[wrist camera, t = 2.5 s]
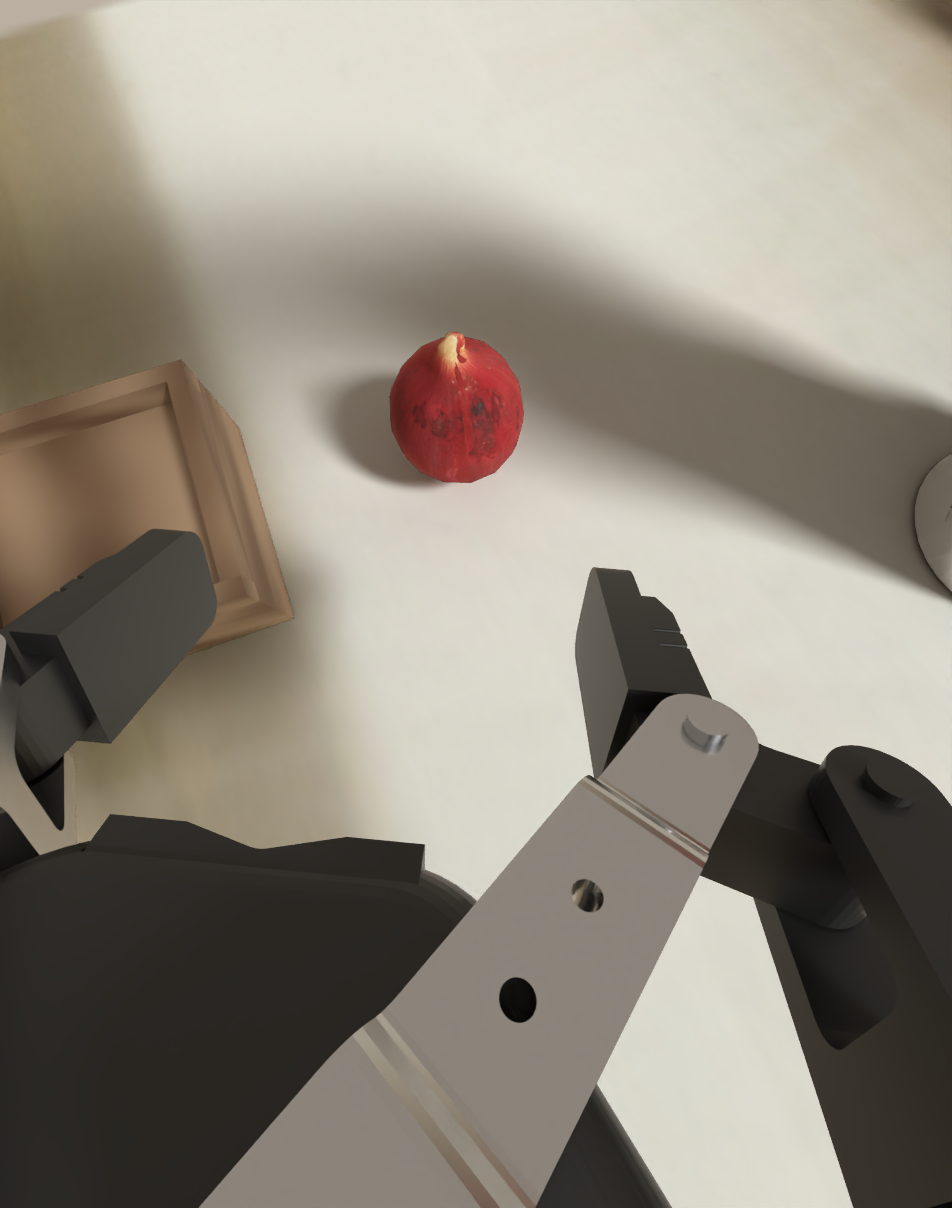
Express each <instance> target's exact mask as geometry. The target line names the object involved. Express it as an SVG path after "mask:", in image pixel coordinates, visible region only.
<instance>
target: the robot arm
mask: <svg viewBox="0 0 952 1208" xmlns="http://www.w3.org/2000/svg"><path fill="white" fill-rule="evenodd" d="M915 527H916V532H917V537H918V542H919V544H920V547H921V549H922V551H923V554H924V556H925V558H926V560H927V562H928V564H929V565H930V567H931V568H932V570H933V571H934V572H935V574H936V575H937V577H938V578H939V579H940V580H941V581H942V582H943V584H944V585H945V586H946V587H947V588H948V589H949V590H950V591H951V592H952V454H950V455H949V456H947V457H946V458H944V459H943V460H941V461H939V462H938V463H937V464H936V466H935V467H934V468H933V469H932V470H931V471H930V472H929V473H928V474H927V476H926V478H925V479H924V481H923V483H922V485H921V487H920V488H919V492H918V496H917V500H916V504H915ZM216 611H217V598H216V593H215V589H214V586H213V582H212V578H211V574H210V570H209V567H208V563H207V559H206V555H205V551H204V548H203V544H202V541H201V539H200V538H199V536H198V535H197V534H196V533H194V532H191V531H179V530H168V529H151V530H149V531H147V532H146V533H145V534H143V535H142V536H140V537H139V538H138V539H136V540H135V541H133V542H132V543H131V544H129V545H128V546H126V547H125V548H124V549H122V550H121V551H119V552H118V553H117V554H114V555H112V556H109V557H107V558H105V559H102V560H100V561H98V562H96V563H95V564H93V565H92V566H90V567H89V568H88V569H86V570H85V571H83V572H82V573H80V574H79V575H78V576H77V579H72V580H70V581H69V582H68V583H66V584H65V585H63V586H62V587H61V588H60V591H55V592H53V593H52V594H51V595H49V596H48V597H46V598H45V599H43V600H42V601H41V602H39V603H38V604H36V605H35V606H33V607H32V608H31V609H29V610H28V611H26V612H25V613H24V614H22V615H21V616H19V617H18V618H16V619H15V620H14V621H12V622H11V623H9V624H8V625H6V626H5V627H4V628H2V629H1V630H0V1208H672V1207H671V1205H670V1204H669V1202H668V1200H667V1199H666V1197H665V1195H664V1194H663V1192H662V1190H661V1189H660V1187H659V1186H658V1184H657V1182H656V1181H655V1179H654V1177H653V1176H652V1174H651V1172H650V1171H649V1169H648V1167H647V1166H646V1164H645V1163H644V1161H643V1159H642V1158H641V1156H640V1154H639V1153H638V1151H637V1149H636V1148H635V1146H634V1144H633V1143H632V1141H631V1139H630V1138H629V1136H628V1135H627V1133H626V1131H625V1130H624V1128H623V1126H622V1125H621V1123H620V1121H619V1120H618V1118H617V1116H616V1115H615V1113H614V1112H613V1110H612V1108H611V1107H610V1105H609V1103H608V1102H607V1100H606V1098H605V1097H604V1095H603V1093H602V1092H601V1090H600V1089H599V1087H598V1085H597V1081H598V1079H599V1077H600V1075H601V1073H602V1071H603V1069H604V1067H605V1065H606V1063H607V1061H608V1059H609V1057H610V1055H611V1053H612V1051H613V1049H614V1047H615V1045H616V1043H617V1041H618V1039H619V1037H620V1035H621V1033H622V1031H623V1029H624V1027H625V1025H626V1023H627V1021H628V1019H629V1017H630V1015H631V1013H632V1011H633V1009H634V1007H635V1005H636V1003H637V1001H638V999H639V997H640V995H641V993H642V991H643V989H644V987H645V985H646V983H647V981H648V979H649V977H650V975H651V973H652V970H653V968H654V966H655V964H656V962H657V960H658V958H659V956H660V954H661V952H662V950H663V948H664V946H665V944H666V942H667V940H668V938H669V936H670V934H671V932H672V930H673V928H674V926H675V924H676V922H677V920H678V918H679V916H680V914H681V912H682V910H683V908H684V906H685V904H686V902H687V900H688V898H689V896H690V894H691V892H692V890H693V888H694V886H695V884H696V882H697V880H698V878H699V876H703V877H705V878H708V879H710V880H713V881H715V882H717V883H720V884H722V885H725V886H727V887H730V888H732V889H734V890H737V891H739V892H742V893H744V894H746V895H749V896H751V897H753V898H754V901H755V904H756V908H757V911H758V914H759V917H760V920H761V923H762V926H763V929H764V932H765V935H766V938H767V942H768V945H769V948H770V951H771V954H772V957H773V960H774V963H775V966H776V969H777V973H778V976H779V979H780V982H781V985H782V988H783V991H784V994H785V997H786V1000H787V1004H788V1007H789V1010H790V1013H791V1016H792V1019H793V1022H794V1025H795V1028H796V1031H797V1034H798V1038H799V1041H800V1044H801V1047H802V1050H803V1053H804V1056H805V1059H806V1062H807V1065H808V1069H809V1072H810V1075H811V1078H812V1081H813V1084H814V1087H815V1090H816V1093H817V1096H818V1099H819V1103H820V1106H821V1109H822V1112H823V1115H824V1118H825V1121H826V1124H827V1127H828V1130H829V1134H830V1137H831V1140H832V1143H833V1146H834V1149H835V1152H836V1155H837V1158H838V1161H839V1165H840V1168H841V1171H842V1174H843V1177H844V1180H845V1183H846V1186H847V1189H848V1192H849V1195H850V1199H851V1202H852V1205H853V1208H952V806H951V805H950V803H949V802H948V801H947V799H946V798H945V797H944V796H943V794H942V793H941V792H940V791H939V790H938V788H937V787H936V786H935V785H934V784H932V783H931V782H930V781H929V780H928V779H927V778H926V777H925V776H923V775H922V774H921V773H920V772H918V771H917V770H915V769H914V768H912V767H911V766H909V765H908V764H906V763H904V762H902V761H901V760H899V759H897V758H895V757H893V756H891V755H889V754H886V753H883V752H881V751H878V750H875V749H871V748H868V747H862V746H854V745H848V746H841V747H837V748H835V749H833V750H831V752H830V753H829V754H828V755H827V756H826V758H825V759H824V761H823V762H822V764H821V765H819V764H816V763H813V762H810V761H807V760H804V759H801V758H798V757H795V756H792V755H788V754H785V753H782V752H779V751H776V750H773V749H771V748H768V747H765V746H763V745H761V744H759V743H758V740H757V737H756V735H755V733H754V731H753V729H752V728H751V726H750V725H749V724H748V723H747V722H746V720H745V719H744V718H743V717H741V716H740V715H739V714H738V713H737V712H735V711H734V710H732V709H731V708H729V707H728V706H726V705H724V704H722V703H720V702H718V701H716V700H713V699H712V698H711V695H710V693H709V691H708V689H707V687H706V685H705V682H704V680H703V678H702V676H701V674H700V672H699V669H698V667H697V665H696V663H695V661H694V658H693V656H692V654H691V652H690V650H689V649H687V643H686V641H685V639H684V637H683V635H682V634H680V631H681V630H680V628H679V626H678V624H677V622H676V619H675V617H674V615H673V613H672V612H671V611H670V610H669V609H668V608H666V607H665V606H664V605H663V604H662V603H661V602H660V601H659V600H658V599H657V598H655V597H647V596H641V594H640V592H639V589H638V587H637V584H636V581H635V579H634V576H633V574H632V572H631V571H629V570H618V569H607V568H595V567H594V568H592V570H591V572H590V574H589V578H588V582H587V587H586V591H585V596H584V601H583V605H582V610H581V614H580V619H579V624H578V628H577V634H576V643H575V658H576V665H577V672H578V678H579V684H580V691H581V697H582V703H583V710H584V716H585V723H586V729H587V735H588V742H589V748H590V754H591V761H592V767H593V773H594V778H593V777H592V776H590V775H588V776H585V777H584V778H583V779H581V780H580V781H579V782H578V783H577V784H576V786H575V787H574V788H573V789H572V790H571V791H570V792H569V794H568V795H567V796H566V797H565V798H564V800H563V801H562V802H561V803H560V804H559V805H558V807H557V808H556V809H555V810H554V811H553V813H552V814H551V815H550V816H549V817H548V818H547V820H546V821H545V822H544V823H543V824H542V826H541V827H540V828H539V829H538V830H537V831H536V833H535V834H534V835H533V836H532V837H531V839H530V840H529V841H528V842H527V843H526V844H525V846H524V847H523V848H522V849H521V850H520V852H519V853H518V854H517V855H516V856H515V857H514V859H513V860H512V861H511V862H510V863H509V865H508V866H507V867H506V868H505V869H504V870H503V872H502V873H501V874H500V875H499V876H498V878H497V879H496V880H495V881H494V882H493V883H492V885H491V886H490V887H489V888H488V889H487V891H486V892H485V893H484V894H483V895H482V896H481V898H480V899H479V900H478V901H476V900H475V899H474V898H473V897H472V896H471V895H469V894H468V893H467V892H465V891H464V890H462V889H461V888H460V887H458V886H457V885H456V884H454V883H452V882H450V881H448V880H447V879H445V878H443V877H441V876H439V875H437V874H435V873H432V872H430V871H427V870H425V844H414V843H404V842H393V841H383V840H373V839H362V838H352V837H344V838H337V839H330V840H323V841H316V842H309V843H302V844H295V845H289V846H282V847H275V848H268V849H256V848H252V847H249V846H247V845H244V844H242V843H239V842H237V841H234V840H232V839H229V838H227V837H224V836H222V835H219V834H217V833H214V832H212V831H209V830H207V829H204V828H202V827H199V826H197V825H194V824H192V823H189V822H186V821H176V820H165V819H155V818H145V817H134V816H124V815H114V814H110V815H109V817H108V818H107V819H106V821H105V822H104V823H103V825H102V826H101V828H100V829H99V830H98V832H97V833H96V834H95V836H94V837H93V838H92V840H91V841H87V842H83V843H79V844H77V816H76V781H75V762H74V759H73V757H72V755H71V754H70V752H69V750H68V749H69V748H70V747H71V746H72V745H73V744H74V743H75V742H76V741H88V742H99V743H109V744H111V743H112V741H113V740H114V739H115V738H116V737H117V736H118V734H119V733H120V732H121V731H122V730H123V729H124V727H125V726H126V725H127V724H128V723H129V721H130V720H131V719H132V718H133V717H134V716H135V714H136V713H137V712H138V711H139V710H140V708H141V707H142V706H143V705H144V704H145V703H146V701H147V700H148V699H149V698H150V697H151V696H152V694H153V693H154V692H155V691H156V690H157V688H158V687H159V686H160V685H161V684H162V683H163V681H164V680H165V679H166V678H167V677H168V676H169V674H170V673H171V672H172V671H173V670H174V668H175V667H176V666H177V665H178V664H179V663H180V661H181V660H182V659H183V658H184V657H185V656H186V654H187V653H188V652H189V651H190V650H191V648H192V647H193V646H194V645H195V644H196V643H197V641H198V640H199V639H200V638H201V637H202V636H203V634H204V633H205V632H206V631H207V630H208V628H209V627H210V626H211V625H212V623H213V621H214V618H215V615H216Z"/></svg>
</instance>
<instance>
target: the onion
mask: <svg viewBox="0 0 952 1208" xmlns="http://www.w3.org/2000/svg"><path fill="white" fill-rule="evenodd" d="M523 413H524V412H523V405H522V397H521V390H520V386H519V382H518V380H517V378H516V377H515V375H514V373H513V372H512V370H511V369H510V367H509V365H508V364H507V362H506V361H505V359H504V358H503V357H502V356H501V355H500V354H499V353H498V352H496V351H495V350H494V349H492V348H491V347H490V346H489V345H487V344H486V343H485V342H483V341H480V340H476V339H472V338H468V337H464V335H463V334H461V333H458V332H450V333H447V334H446V336H445V337H444V338H440V339H438V340H435V341H433V342H430V343H428V344H426V345H423V346H421V347H420V348H419V349H418V350H417V351H416V352H415V353H414V354H413V355H412V356H411V357H410V358H409V359H408V360H407V361H406V362H405V363H404V365H403V366H402V367H401V369H400V371H399V374H398V376H397V378H396V380H395V382H394V385H393V387H392V389H391V394H390V420H391V428H392V432H393V434H394V436H395V438H396V440H397V442H398V444H399V446H400V448H401V450H402V452H403V453H404V455H405V457H406V458H407V459H408V460H409V461H410V462H411V463H412V464H413V465H414V466H415V467H416V468H417V469H418V470H419V471H420V472H421V473H424V474H426V475H429V476H431V477H433V478H436V479H438V480H441V481H443V482H459V483H472V482H474V481H476V480H479V479H481V478H483V477H486V476H488V475H491V474H493V473H495V472H496V471H497V470H498V469H499V468H500V467H501V465H502V464H503V463H504V462H505V461H506V460H507V459H508V458H509V456H510V455H511V454H512V452H513V451H514V449H515V447H516V445H517V441H518V438H519V434H520V431H521V427H522V423H523Z"/></svg>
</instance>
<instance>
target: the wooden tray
mask: <svg viewBox="0 0 952 1208" xmlns="http://www.w3.org/2000/svg"><path fill="white" fill-rule="evenodd" d="M151 529H168V530H179V531H191V532H194V533H196V534H197V535H198V536H199V538H200V539H201V541H202V544H203V548H204V551H205V555H206V559H207V563H208V567H209V570H210V574H211V578H212V582H213V586H214V589H215V593H216V598H217V611H216V615H215V618H214V621H213V623H212V625H211V626H210V627H209V628H208V630H207V631H206V632H205V633H204V634H203V636H202V637H201V638H200V639H199V640H198V641H197V643H196V644H195V645H194V646H193V647H192V648H191V650H190V651H189V652H188V653H187V654H186V655H189V654H192V653H195V652H198V651H201V650H203V649H206V648H209V647H212V646H215V645H218V644H221V643H224V642H227V641H230V640H232V639H235V638H238V637H241V636H244V635H247V634H250V633H253V632H256V631H258V630H261V629H264V628H267V627H270V626H273V625H276V624H279V623H282V622H285V621H287V620H290V619H293V618H295V617H294V614H293V611H292V607H291V604H290V600H289V597H288V593H287V590H286V587H285V583H284V580H283V576H282V573H281V570H280V566H279V563H278V559H277V556H276V553H275V549H274V546H273V542H272V539H271V535H270V532H269V529H268V525H267V522H266V518H265V515H264V512H263V508H262V505H261V501H260V498H259V494H258V491H257V488H256V484H255V481H254V477H253V474H252V471H251V467H250V464H249V460H248V457H247V453H246V450H245V447H244V443H243V440H242V436H241V433H240V430H239V427H238V426H237V424H236V423H235V422H234V421H233V420H232V419H231V417H230V416H229V415H228V414H227V413H226V412H225V410H224V409H223V408H222V407H221V406H220V404H219V403H218V402H217V401H216V400H215V399H214V397H213V396H212V395H211V394H210V393H209V392H208V390H207V389H206V388H205V387H204V386H203V384H202V383H201V382H200V381H199V380H198V379H197V377H196V376H195V375H194V374H193V373H192V372H191V370H190V369H189V368H188V367H187V366H186V364H185V363H184V362H183V361H182V360H178V361H175V362H172V363H168V364H165V365H162V366H159V367H155V368H152V369H149V370H145V371H142V372H139V373H136V374H132V375H129V376H126V377H122V378H119V379H116V380H113V381H109V382H106V383H103V384H99V385H96V386H93V387H90V388H86V389H83V390H80V391H76V392H73V393H70V394H67V395H63V396H60V397H57V398H54V399H50V400H47V401H44V402H40V403H37V404H34V405H31V406H27V407H24V408H21V409H17V410H14V411H11V412H8V413H4V414H1V415H0V630H1V629H2V628H4V627H5V626H6V625H8V624H9V623H11V622H12V621H14V620H15V619H16V618H18V617H19V616H21V615H22V614H24V613H25V612H26V611H28V610H29V609H31V608H32V607H33V606H35V605H36V604H38V603H39V602H41V601H42V600H43V599H45V598H46V597H48V596H49V595H51V594H52V593H53V592H55V591H60V588H61V587H62V586H63V585H65V584H66V583H68V582H69V581H70V580H72V579H77V576H78V575H79V574H80V573H82V572H83V571H85V570H86V569H88V568H89V567H90V566H92V565H93V564H95V563H96V562H98V561H100V560H102V559H105V558H107V557H109V556H112V555H114V554H117V553H118V552H119V551H121V550H122V549H124V548H125V547H126V546H128V545H129V544H131V543H132V542H133V541H135V540H136V539H138V538H139V537H140V536H142V535H143V534H145V533H146V532H147V531H149V530H151Z"/></svg>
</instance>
